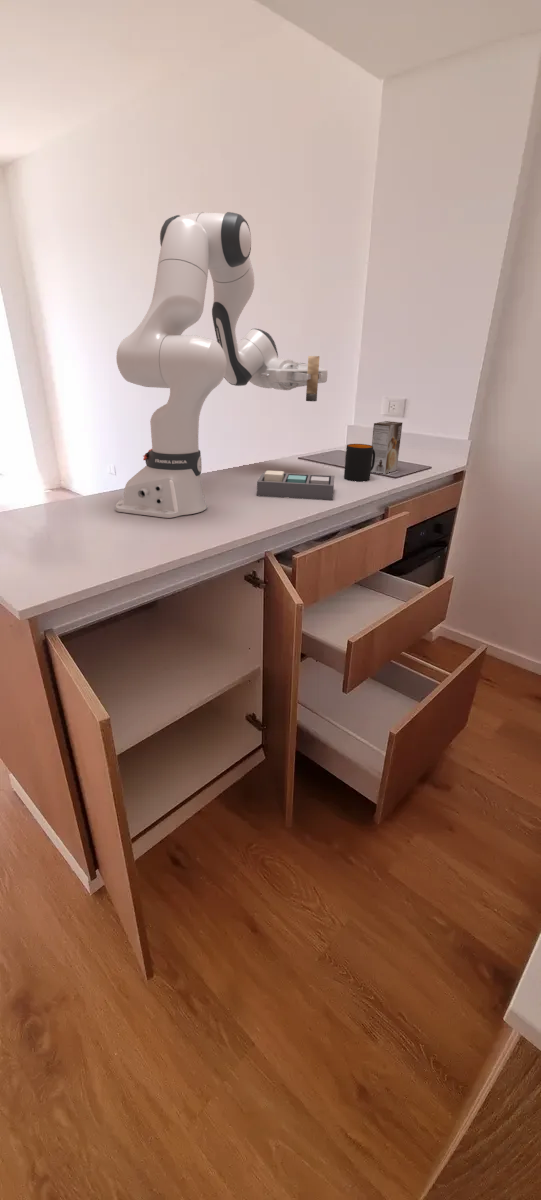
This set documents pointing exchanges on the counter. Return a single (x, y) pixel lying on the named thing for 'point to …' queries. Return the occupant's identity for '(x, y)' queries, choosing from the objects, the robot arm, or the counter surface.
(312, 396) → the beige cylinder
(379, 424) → the coffee box
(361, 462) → the mug
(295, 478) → the key teal
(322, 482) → the key grey
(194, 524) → the counter surface
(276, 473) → the key cream
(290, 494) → the gray divided sorting tray
